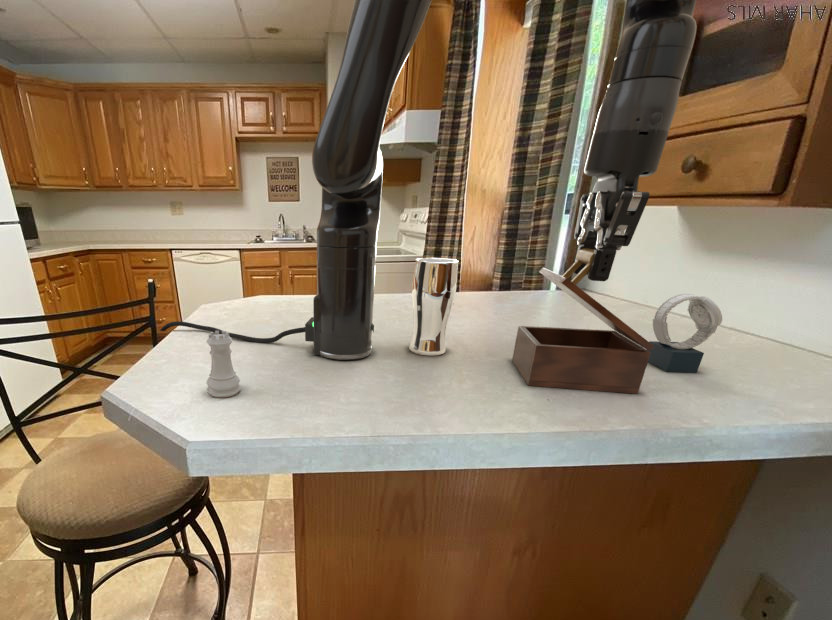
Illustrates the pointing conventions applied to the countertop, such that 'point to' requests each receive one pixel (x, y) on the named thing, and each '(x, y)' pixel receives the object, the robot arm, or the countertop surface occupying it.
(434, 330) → the beer glass
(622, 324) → the panel with brass rod
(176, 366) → the countertop surface
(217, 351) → the rook chess piece
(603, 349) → the brown wooden box
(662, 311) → the watch
